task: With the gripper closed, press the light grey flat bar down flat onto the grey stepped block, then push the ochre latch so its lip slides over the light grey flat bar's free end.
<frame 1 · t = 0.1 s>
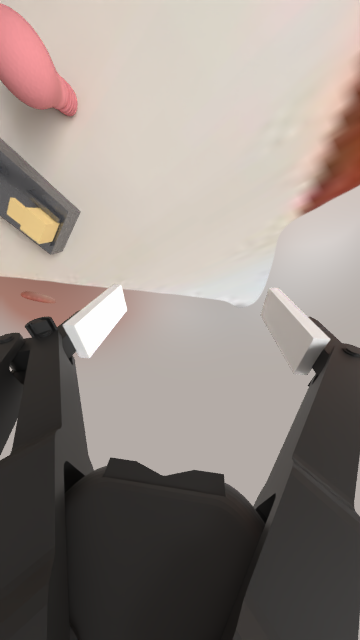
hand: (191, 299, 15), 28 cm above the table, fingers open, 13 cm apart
light bulb: (69, 102, 28), on the table
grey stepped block: (11, 182, 35), on the table
latch: (33, 220, 33), point 6 cm above the table, slide at 0.0 cm
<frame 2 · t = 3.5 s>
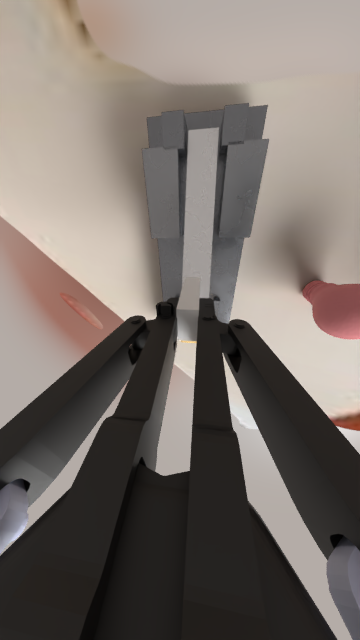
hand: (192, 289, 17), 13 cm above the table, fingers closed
light bulb: (311, 286, 28), on the table
light grey flat bar: (198, 223, 17), point 9 cm above the table, hinge at 28.4°, touching gripper
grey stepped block: (199, 252, 27), on the table
latch: (195, 320, 28), point 6 cm above the table, slide at 0.0 cm
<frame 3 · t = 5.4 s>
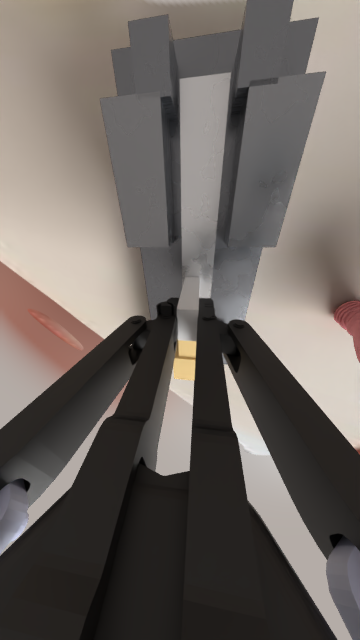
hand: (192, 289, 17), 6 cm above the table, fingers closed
light bulb: (345, 307, 21), on the table
light grey flat bar: (198, 239, 15), point 5 cm above the table, hinge at 0.9°, touching gripper
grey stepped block: (198, 262, 20), on the table
latch: (194, 352, 21), point 6 cm above the table, slide at 0.0 cm
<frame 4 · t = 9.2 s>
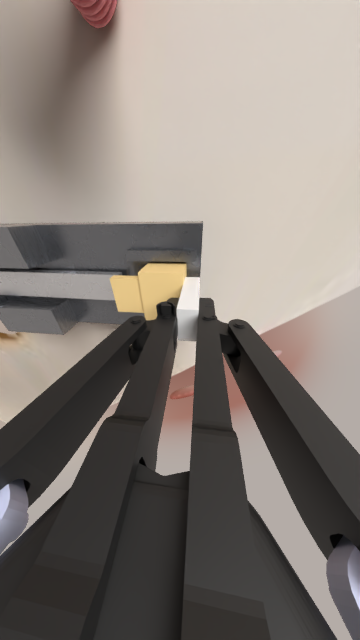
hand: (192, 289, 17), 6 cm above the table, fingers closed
light grey flat bar: (53, 284, 19), point 5 cm above the table, hinge at 0.9°
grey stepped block: (100, 272, 23), on the table
latch: (152, 291, 17), point 6 cm above the table, slide at 0.9 cm, touching gripper
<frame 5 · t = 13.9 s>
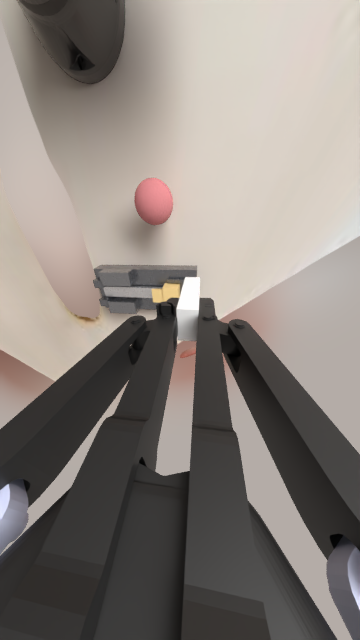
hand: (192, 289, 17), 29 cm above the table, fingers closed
light bulb: (163, 205, 37), on the table
light grey flat bar: (134, 291, 45), point 5 cm above the table, hinge at 0.9°
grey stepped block: (150, 285, 49), on the table
latch: (166, 294, 43), point 6 cm above the table, slide at 3.8 cm
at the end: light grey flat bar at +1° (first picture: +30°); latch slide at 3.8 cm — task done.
